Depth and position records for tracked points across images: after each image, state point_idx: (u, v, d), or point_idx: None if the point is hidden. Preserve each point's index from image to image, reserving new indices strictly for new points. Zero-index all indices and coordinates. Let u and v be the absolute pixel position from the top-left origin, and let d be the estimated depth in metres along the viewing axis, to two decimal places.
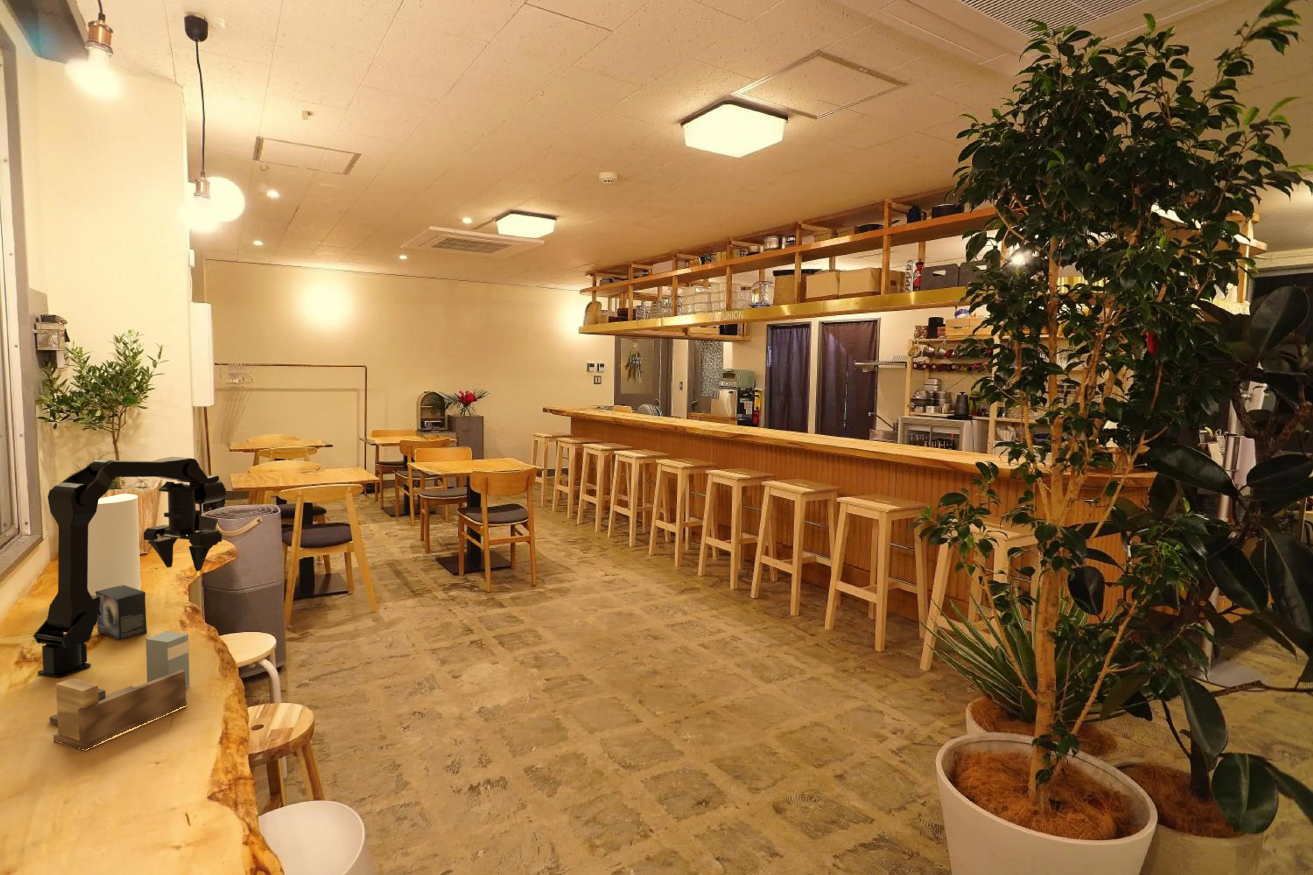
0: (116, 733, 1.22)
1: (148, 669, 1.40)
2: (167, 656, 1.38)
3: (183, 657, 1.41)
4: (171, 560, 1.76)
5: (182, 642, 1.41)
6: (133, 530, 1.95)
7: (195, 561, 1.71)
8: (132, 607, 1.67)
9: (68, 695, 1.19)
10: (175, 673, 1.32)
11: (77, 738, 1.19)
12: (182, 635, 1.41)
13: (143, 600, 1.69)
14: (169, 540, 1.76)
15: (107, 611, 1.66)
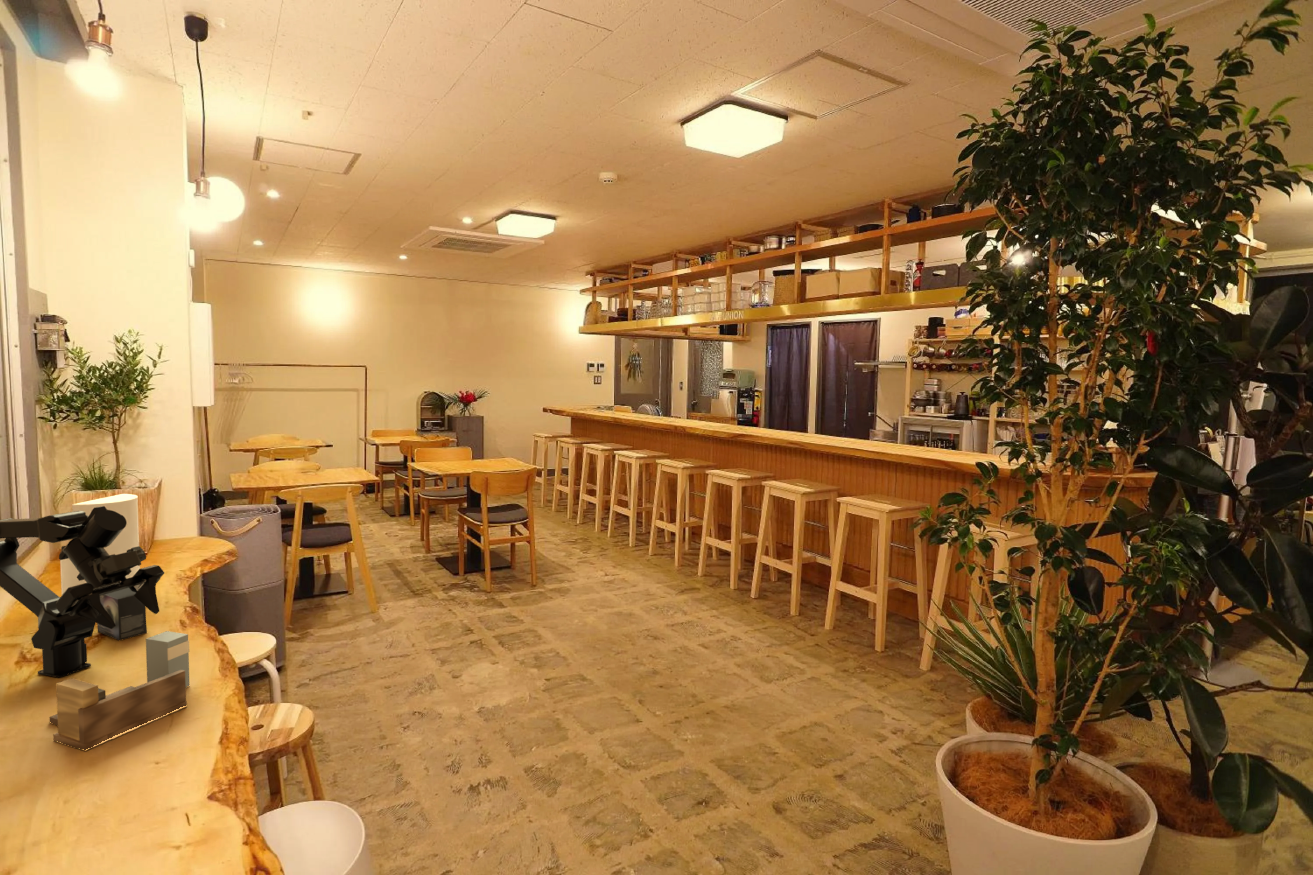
0: (116, 733, 1.22)
1: (148, 669, 1.40)
2: (167, 656, 1.38)
3: (183, 657, 1.41)
4: (153, 605, 1.47)
5: (182, 642, 1.41)
6: (133, 530, 1.95)
7: None
8: (132, 607, 1.67)
9: (68, 695, 1.19)
10: (175, 673, 1.32)
11: (77, 738, 1.19)
12: (182, 635, 1.41)
13: None
14: (143, 585, 1.48)
15: (107, 611, 1.66)
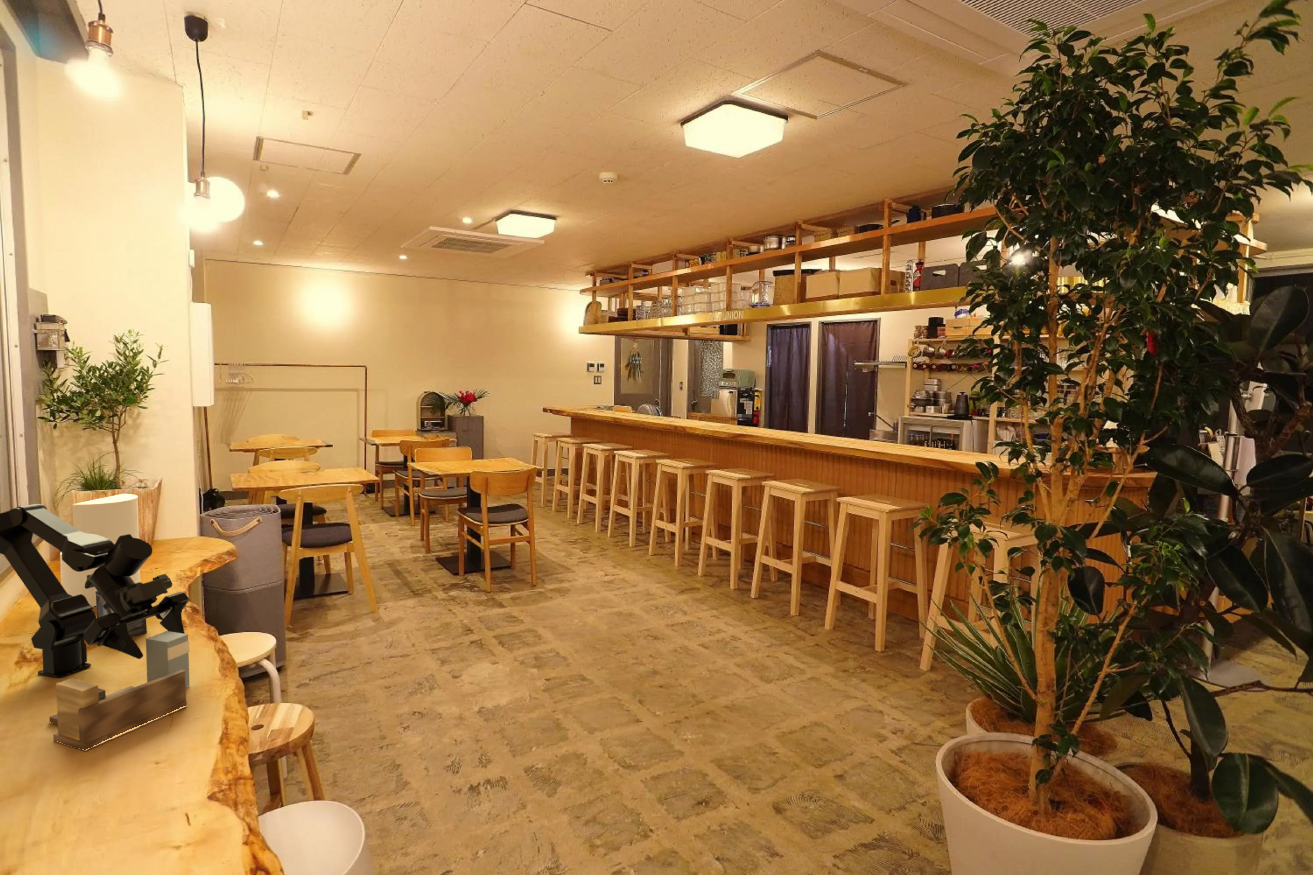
0: (116, 733, 1.22)
1: (148, 669, 1.40)
2: (167, 656, 1.38)
3: (183, 657, 1.41)
4: None
5: (182, 642, 1.41)
6: (133, 530, 1.95)
7: None
8: None
9: (68, 695, 1.19)
10: (175, 673, 1.32)
11: (77, 738, 1.19)
12: (182, 635, 1.41)
13: None
14: (169, 613, 1.47)
15: (107, 611, 1.66)
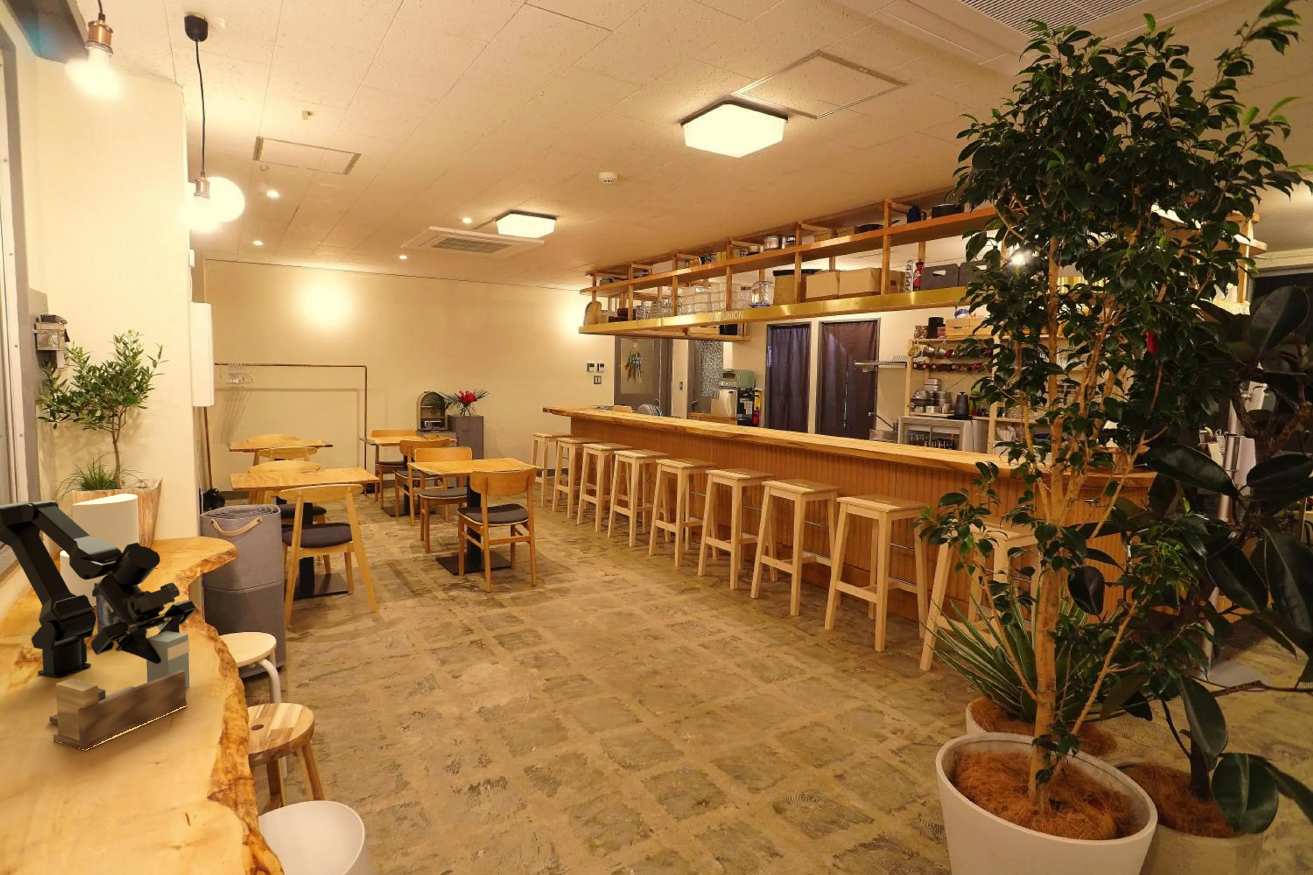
0: (116, 733, 1.22)
1: (148, 669, 1.40)
2: (167, 656, 1.38)
3: (183, 657, 1.41)
4: None
5: (182, 642, 1.41)
6: (133, 530, 1.95)
7: None
8: None
9: (68, 695, 1.19)
10: (175, 673, 1.32)
11: (77, 738, 1.19)
12: (182, 635, 1.41)
13: None
14: (166, 625, 1.44)
15: (107, 611, 1.66)
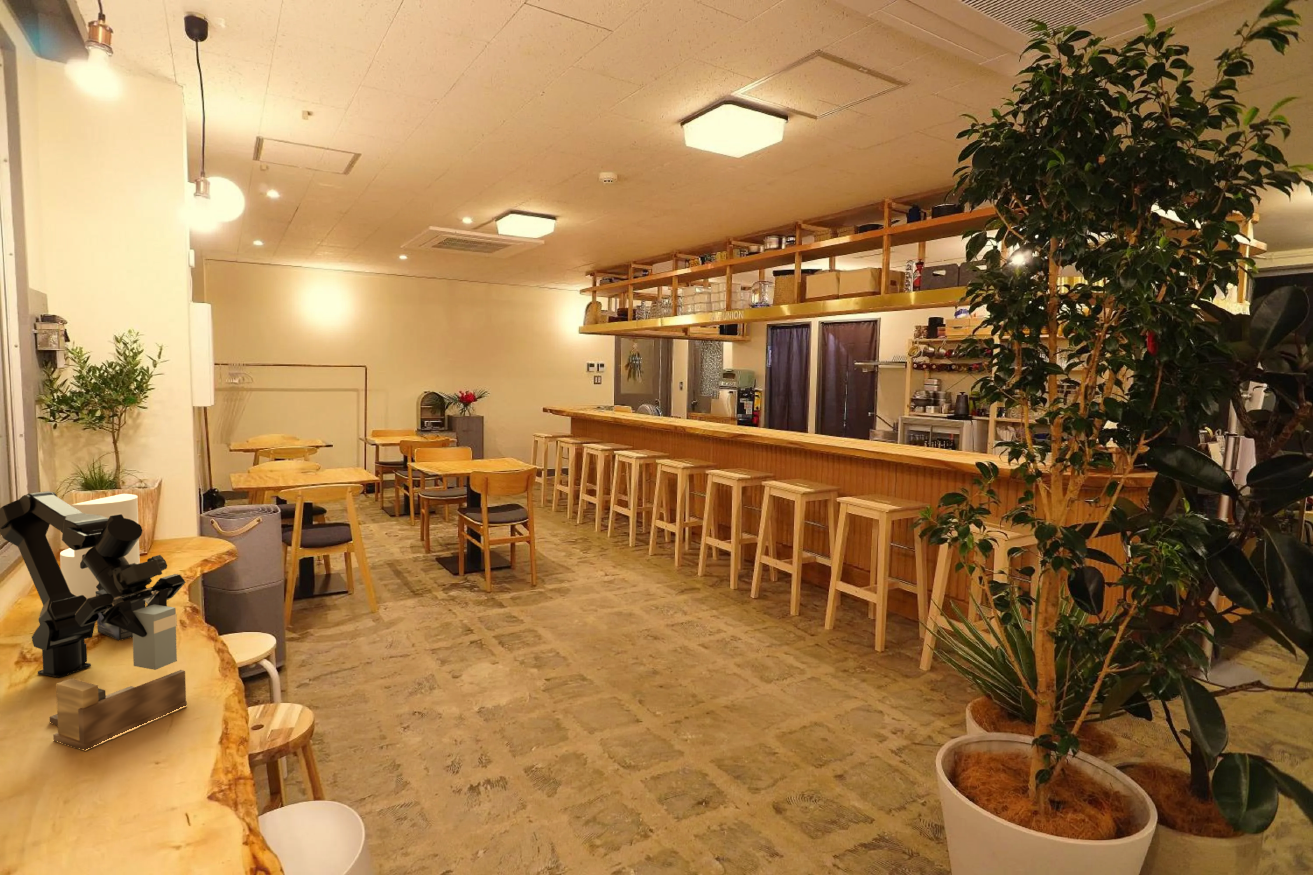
0: (116, 733, 1.22)
1: (134, 642, 1.36)
2: (153, 629, 1.35)
3: (170, 631, 1.38)
4: None
5: (169, 616, 1.38)
6: None
7: None
8: (132, 607, 1.67)
9: (68, 695, 1.19)
10: (175, 673, 1.32)
11: (77, 738, 1.19)
12: (169, 608, 1.38)
13: (143, 600, 1.69)
14: (154, 598, 1.41)
15: None
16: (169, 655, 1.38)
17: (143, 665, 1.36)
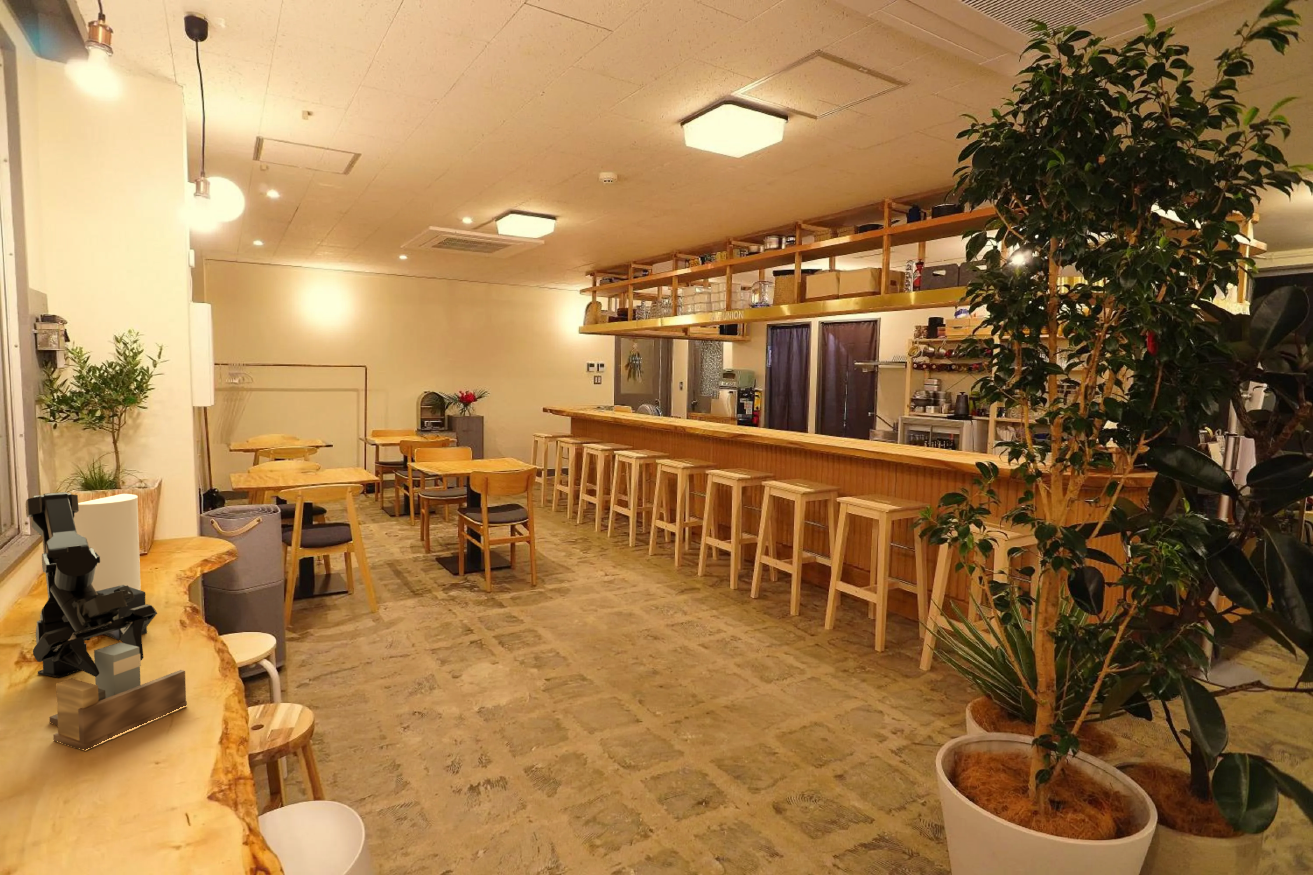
0: (116, 733, 1.22)
1: (96, 683, 1.30)
2: (113, 670, 1.28)
3: (133, 671, 1.31)
4: None
5: (132, 656, 1.31)
6: (133, 530, 1.95)
7: None
8: (132, 607, 1.67)
9: (68, 695, 1.19)
10: (175, 673, 1.32)
11: (77, 738, 1.19)
12: (132, 648, 1.31)
13: (143, 600, 1.69)
14: (128, 629, 1.36)
15: None
16: None
17: None
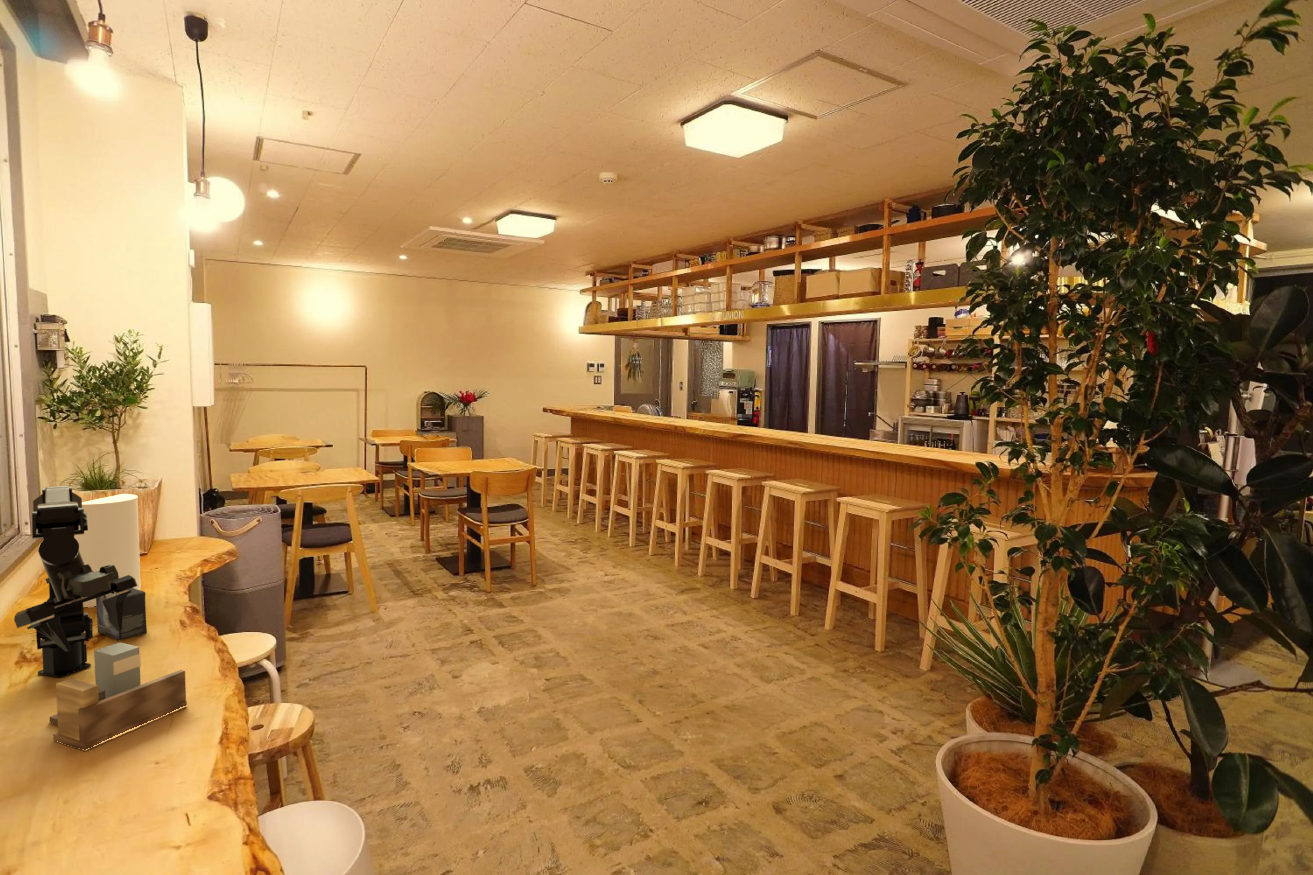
0: (116, 733, 1.22)
1: (96, 683, 1.30)
2: (113, 670, 1.28)
3: (133, 671, 1.31)
4: (117, 622, 1.41)
5: (132, 656, 1.31)
6: (133, 530, 1.95)
7: None
8: (132, 607, 1.67)
9: (68, 695, 1.19)
10: (175, 673, 1.32)
11: (77, 738, 1.19)
12: (132, 648, 1.31)
13: (143, 600, 1.69)
14: (112, 598, 1.42)
15: None
16: None
17: None
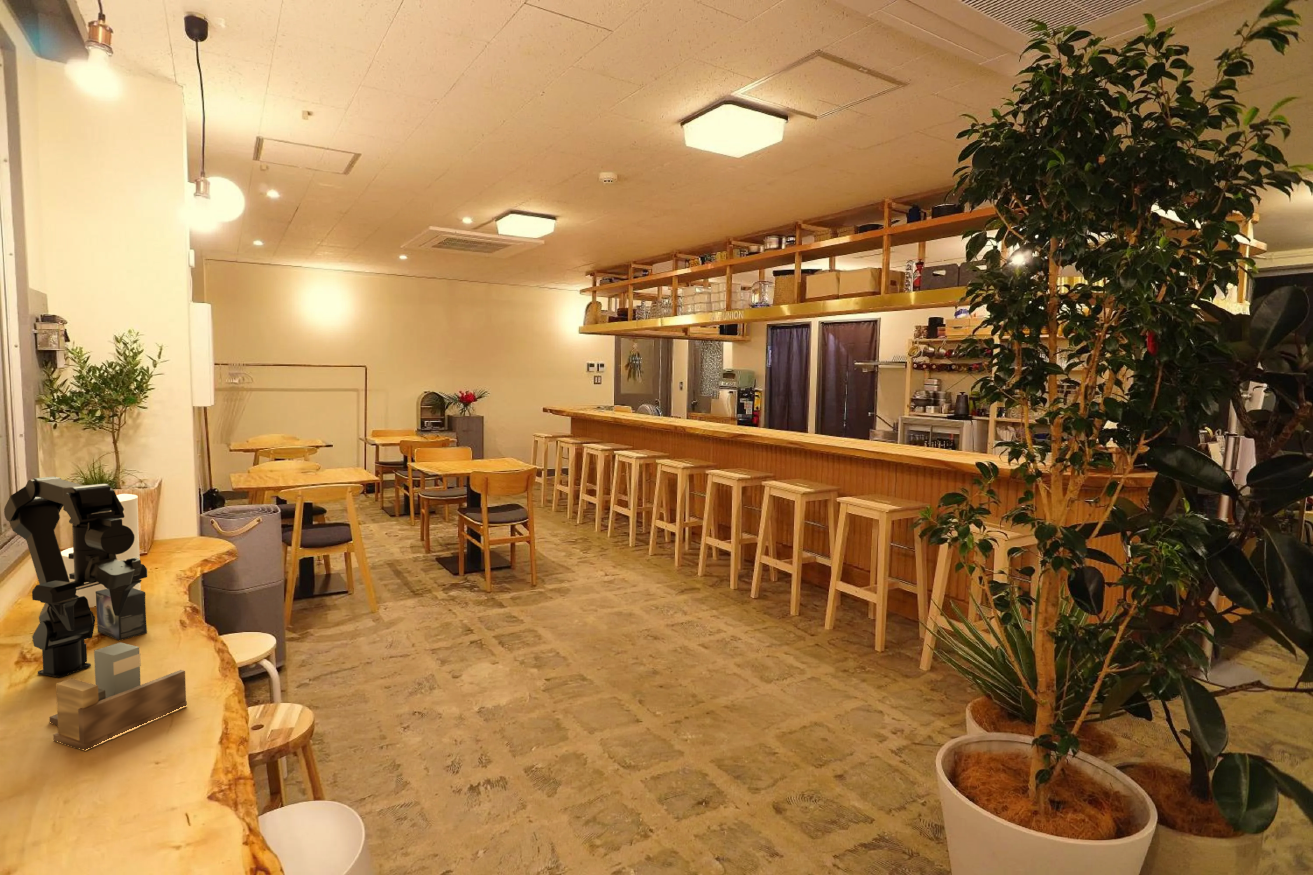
0: (116, 733, 1.22)
1: (96, 683, 1.30)
2: (113, 670, 1.28)
3: (133, 671, 1.31)
4: (117, 608, 1.45)
5: (132, 656, 1.31)
6: (133, 530, 1.95)
7: None
8: (132, 607, 1.67)
9: (68, 695, 1.19)
10: (175, 673, 1.32)
11: (77, 738, 1.19)
12: (132, 648, 1.31)
13: (143, 600, 1.69)
14: None
15: (107, 611, 1.66)
16: None
17: None
